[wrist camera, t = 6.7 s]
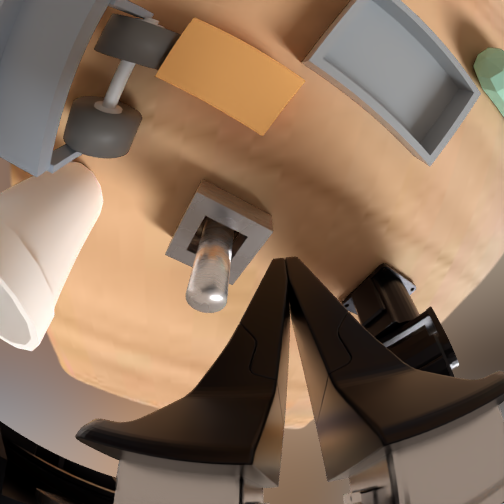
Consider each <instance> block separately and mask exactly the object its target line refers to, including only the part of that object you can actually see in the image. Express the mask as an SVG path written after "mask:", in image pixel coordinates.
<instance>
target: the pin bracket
mask: <svg viewBox="0 0 504 504" xmlns="http://www.w3.org/2000/svg"><path fill="white" fill-rule="evenodd" d="M205 216H207V217H209V218H211V219H213V220H215V221H217V222H219V223H221V224H223V225H225V226H227V227H229V228H231V229H233V230H235V231H237V232H239V235H238V236H237V238H236V239H235V240H234V242H233V244H232V254H231V264H230V274H229V284H231V285H233V284H234V282H235V281H236V280H237V278H238V277H239V276H240V275H241V273H242V272H243V271H244V269H245V268H246V267H247V265H248V264H249V263H250V261H251V260H252V259H253V258H254V256H255V255H256V254H257V252H258V251H259V250H260V248H261V247H262V246H263V245H264V243H265V242H266V241H267V239H268V238H269V237H270V235H271V234H272V233H273V225H272V217H271V215H270V214H268V213H266V212H264V211H262V210H261V209H259V208H257V207H255V206H253V205H251V204H249V203H248V202H246V201H244V200H242V199H240V198H238V197H236V196H234V195H232V194H231V193H229V192H227V191H225V190H223V189H221V188H219V187H217V186H215V185H213V184H211V183H209V182H207V181H205V180H203V179H202V181H201V183H200V184H199V186H198V188H197V190H196V192H195V194H194V196H193V198H192V199H191V201H190V203H189V205H188V207H187V209H186V211H185V213H184V215H183V217H182V219H181V221H180V223H179V225H178V227H177V229H176V231H175V233H174V235H173V237H172V239H171V242H170V244H169V246H168V249H167V251H166V254H165V255H167V256H169V257H171V258H173V259H176V260H178V261H180V262H182V263H184V264H186V265H189V266H191V267H193V264H194V260H195V257H196V253H197V249H198V246H199V242H200V238H201V237H199V236H197V235H195V233H196V231H197V229H198V228H199V226H200V224H201V222H202V221H203V219H204V217H205Z"/></svg>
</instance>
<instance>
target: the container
mask: <svg viewBox="0 0 504 504" xmlns="http://www.w3.org/2000/svg"><path fill="white" fill-rule="evenodd" d="M473 67H474V69H475V72H476V75H477V77H478V80H479V82H480V85H481V87H482V89H483V90H484V91H485V93H486V94H487V95H488V96H489V98H490V99H491V100H492V102H493V103H494V104H495V106H496V107H497V108H498V110H499V111H500V113H501V114H502V115H503V117H504V51H503V50H502V49H498V48H487V49H486V50H484V51H483V52H481V53H480V54H478V56H477V58H476V61H475V63H474V66H473Z"/></svg>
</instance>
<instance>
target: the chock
mask: <svg viewBox="0 0 504 504" xmlns="http://www.w3.org/2000/svg"><path fill="white" fill-rule="evenodd" d="M155 77H157V78H159V79H161V80H163V81H165V82H168V83H170V84H172V85H174V86H176V87H178V88H180V89H182V90H183V91H185V92H187V93H189V94H191V95H193V96H195V97H197V98H199V99H200V100H202V101H204V102H206V103H208V104H210V105H211V106H213V107H215V108H217V109H218V110H220V111H222V112H224V113H225V114H227V115H229V116H230V117H232V118H234V119H235V120H237V121H239V122H240V123H242V124H244V125H245V126H247V127H249V128H250V129H252V130H253V131H255V132H256V133H258V134H260V135H261V136H263V135H264V134H265V133H266V131H267V130H268V129H269V127H270V126H271V125H272V123H273V122H274V121H275V119H276V118H277V117H278V115H279V114H280V113H281V111H282V110H283V109H284V108H285V106H286V105H287V104H288V102H289V101H290V100H291V99H292V97H293V96H294V95H295V94H296V92H297V91H298V90H299V88H300V87H301V86H302V85H303V84H304V82H305V80H304V79H302V78H301V77H300V76H298V75H297V74H295V73H294V72H292V71H291V70H289V69H288V68H286V67H285V66H283V65H282V64H280V63H279V62H277V61H276V60H274V59H273V58H271V57H269V56H268V55H266V54H264V53H263V52H261V51H259V50H258V49H256V48H254V47H253V46H251V45H249V44H247V43H245V42H244V41H242V40H240V39H238V38H236V37H234V36H232V35H231V34H229V33H227V32H225V31H223V30H221V29H219V28H217V27H214V26H212V25H210V24H208V23H206V22H204V21H201V20H199V19H197V18H193V19H192V21H191V22H190V23H189V25H188V26H187V27H186V29H185V30H184V32H183V33H182V34H181V36H180V37H179V39H178V40H177V42H176V43H175V45H174V46H173V48H172V49H171V51H170V52H169V54H168V56H167V57H166V59H165V60H164V62H163V64H162V65H161V67H160V69H159V70H158V72H157V74H156V75H155Z"/></svg>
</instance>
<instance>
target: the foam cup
mask: <svg viewBox="0 0 504 504" xmlns="http://www.w3.org/2000/svg"><path fill="white" fill-rule="evenodd" d="M102 204H103V197H102V191H101V186H100V184H99V182H98V180H97V179H96V177H95V175H94V174H93V172H92V171H91V170H89V169H88V168H87V167H85V166H84V165H83V164H82V163H78V162H73V161H70V162H69V163H67V164H66V165H64V166H63V167H61V168H60V169H59V170H57V171H56V172H54V173H53V174H52V173H50V172H48V171H45V172H44V173H43V174H41V175H40V176H38V177H35V176H32V177H30V178H28V179H26V180H24V181H22V182H20V183H18V184H16V185H14V186H12V187H10V188H8V189H7V190H5V191H3V192H1V193H0V338H1V339H2V340H4V341H6V342H7V343H9V344H11V345H13V346H14V347H16V348H20V349H25V350H29V351H32V350H34V349H35V348H36V347H37V346H38V345H39V344H40V343H41V340H42V338H43V336H44V334H45V332H46V330H47V329H48V327H49V325H50V323H51V321H52V319H53V317H54V307H55V305H56V302H57V300H58V297H59V295H60V293H61V290H62V288H63V286H64V283H65V281H66V279H67V277H68V275H69V272H70V270H71V268H72V266H73V264H74V262H75V260H76V258H77V256H78V254H79V252H80V250H81V248H82V246H83V244H84V242H85V240H86V239H87V237H88V235H89V233H90V231H91V229H92V228H93V226H94V224H95V222H96V221H97V219H98V216H99V215H100V212H101V208H102Z"/></svg>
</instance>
